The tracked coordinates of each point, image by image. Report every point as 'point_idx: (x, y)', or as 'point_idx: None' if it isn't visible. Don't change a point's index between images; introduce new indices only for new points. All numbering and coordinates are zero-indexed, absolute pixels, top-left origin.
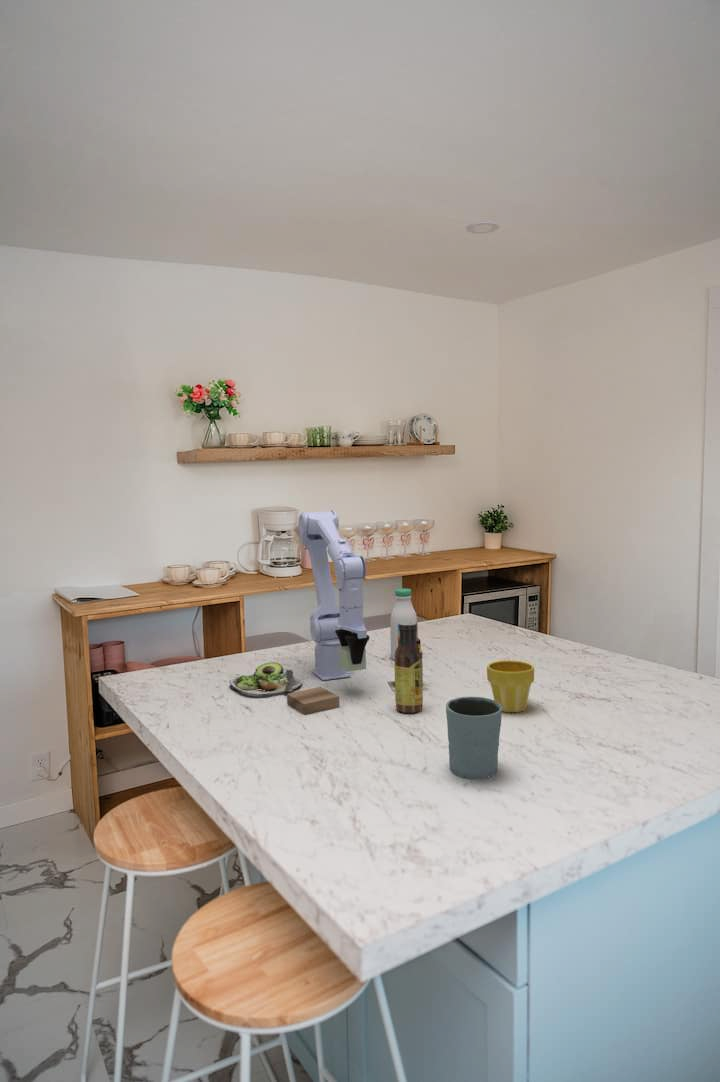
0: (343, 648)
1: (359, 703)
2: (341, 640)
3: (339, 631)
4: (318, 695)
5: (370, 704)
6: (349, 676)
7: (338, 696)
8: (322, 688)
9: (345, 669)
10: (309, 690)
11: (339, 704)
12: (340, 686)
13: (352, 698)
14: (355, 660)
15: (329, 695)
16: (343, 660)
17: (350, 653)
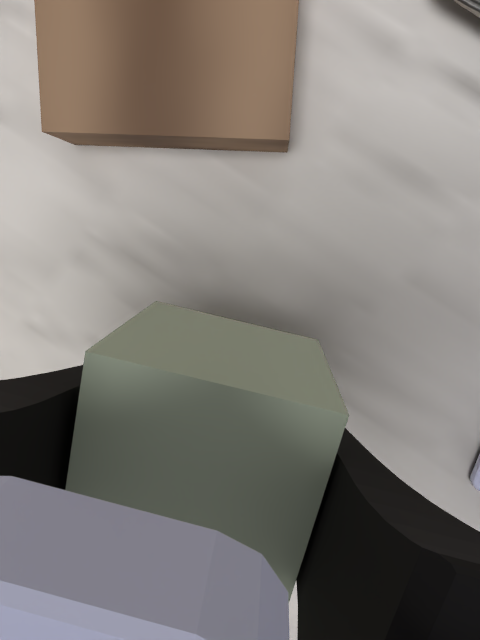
0: (234, 408)
1: (70, 264)
2: (360, 503)
3: (457, 635)
4: (132, 21)
5: (29, 298)
6: (471, 474)
7: (43, 126)
8: (245, 128)
9: (183, 310)
10: (267, 25)
11: (66, 140)
12: (372, 347)
13: (158, 281)
14: None
15: (91, 87)
16: (216, 338)
17: (73, 381)
